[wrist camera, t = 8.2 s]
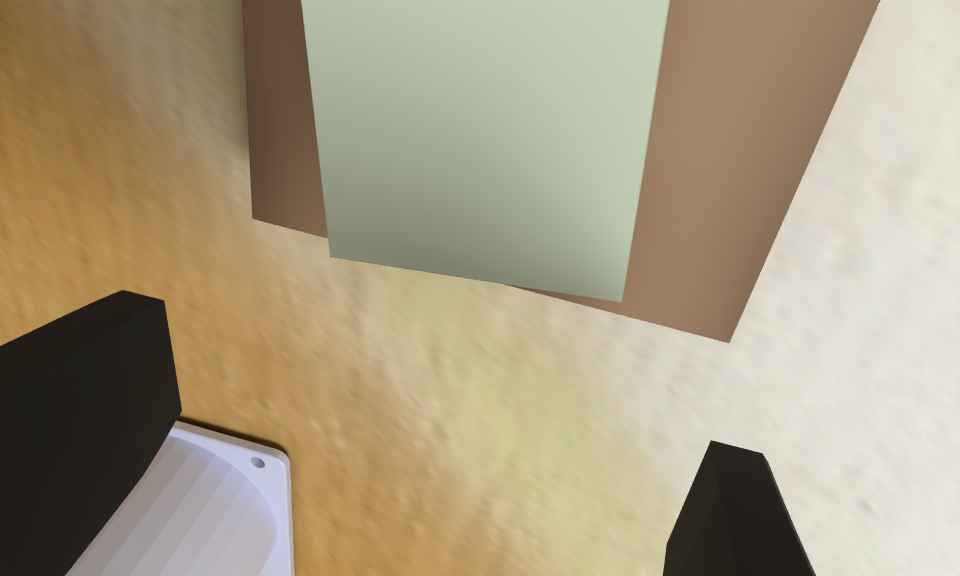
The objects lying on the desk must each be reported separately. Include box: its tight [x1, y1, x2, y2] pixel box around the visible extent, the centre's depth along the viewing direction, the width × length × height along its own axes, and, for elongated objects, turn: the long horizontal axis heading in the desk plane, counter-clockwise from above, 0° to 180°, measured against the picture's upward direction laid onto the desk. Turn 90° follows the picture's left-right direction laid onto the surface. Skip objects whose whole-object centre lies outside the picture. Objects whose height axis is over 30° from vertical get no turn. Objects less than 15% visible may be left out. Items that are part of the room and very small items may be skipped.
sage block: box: [301, 0, 670, 302], centre depth 12 cm, size 4×4×4 cm
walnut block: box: [242, 0, 880, 343], centre depth 15 cm, size 11×11×3 cm
